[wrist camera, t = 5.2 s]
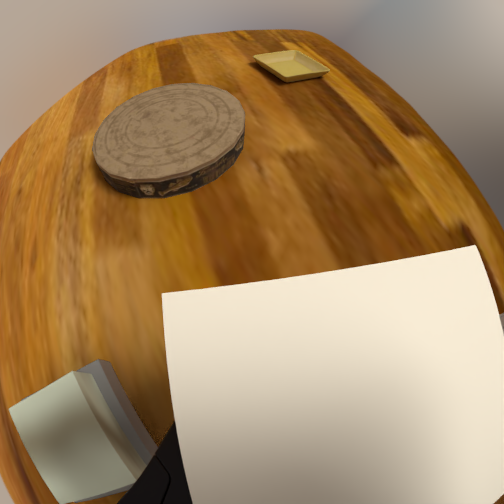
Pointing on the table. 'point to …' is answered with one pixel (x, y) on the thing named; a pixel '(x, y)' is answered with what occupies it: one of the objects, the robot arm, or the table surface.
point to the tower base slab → (120, 414)
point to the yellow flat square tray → (291, 65)
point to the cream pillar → (342, 386)
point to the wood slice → (170, 140)
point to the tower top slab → (76, 439)
